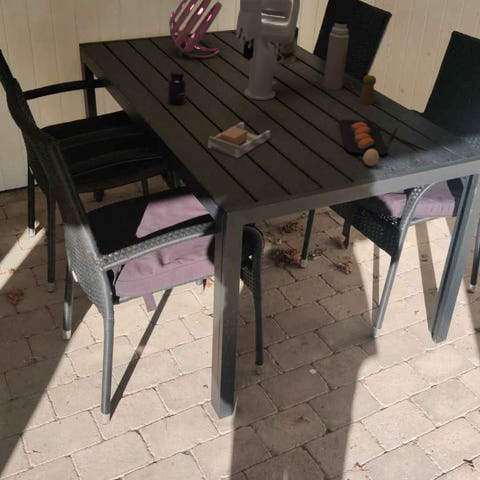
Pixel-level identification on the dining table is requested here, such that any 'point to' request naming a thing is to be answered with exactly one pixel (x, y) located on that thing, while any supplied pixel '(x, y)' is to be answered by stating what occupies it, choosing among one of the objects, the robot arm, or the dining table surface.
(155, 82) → the dining table surface
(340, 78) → the thermos bottle
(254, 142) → the dock
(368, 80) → the pepper mill
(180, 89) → the supplement bottle
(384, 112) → the dining table surface
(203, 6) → the spiral basket
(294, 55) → the coffee box
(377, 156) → the egg
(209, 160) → the dining table surface
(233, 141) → the brown rectangular block
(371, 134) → the sushi plate
